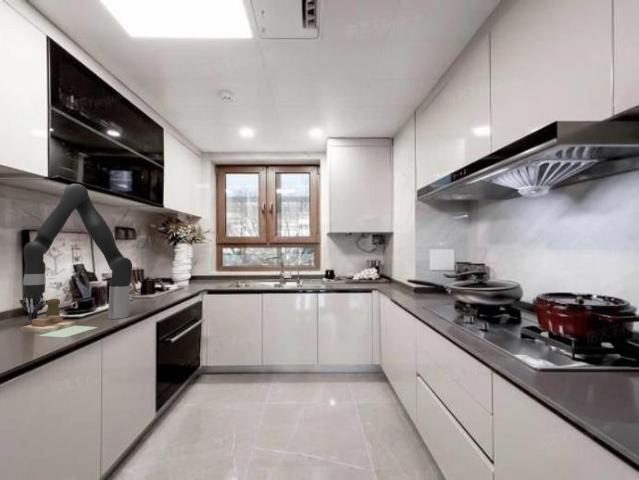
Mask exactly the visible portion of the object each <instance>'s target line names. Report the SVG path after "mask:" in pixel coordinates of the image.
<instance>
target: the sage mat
mask: <svg viewBox="0 0 639 480" xmlns="http://www.w3.org/2000/svg"><path fill="white" fill-rule="evenodd" d="M98 328H99V327H98V326H86V325H85V326H84V325H76V326H71V327H68V328H64V329H60V330H57V331H53V332H50V333H41V334H39V335H38V337H42V338H56V339H66V338H69V337H73V336H77V335H79V334H83V333H87V332H89V331H92V330H95V329H98Z"/></svg>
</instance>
